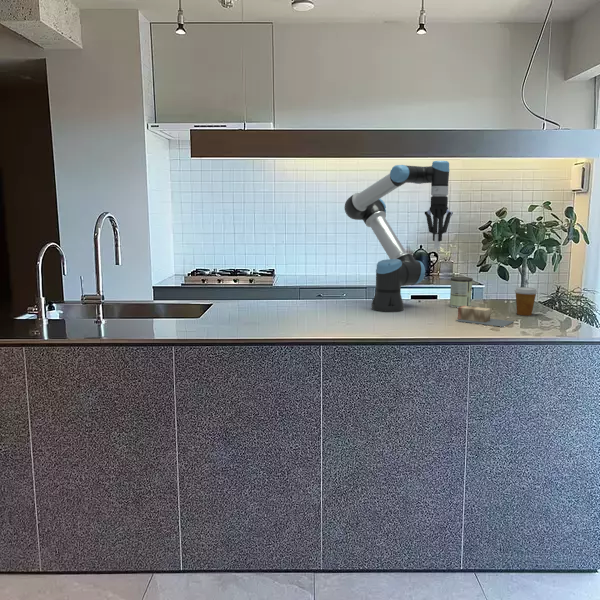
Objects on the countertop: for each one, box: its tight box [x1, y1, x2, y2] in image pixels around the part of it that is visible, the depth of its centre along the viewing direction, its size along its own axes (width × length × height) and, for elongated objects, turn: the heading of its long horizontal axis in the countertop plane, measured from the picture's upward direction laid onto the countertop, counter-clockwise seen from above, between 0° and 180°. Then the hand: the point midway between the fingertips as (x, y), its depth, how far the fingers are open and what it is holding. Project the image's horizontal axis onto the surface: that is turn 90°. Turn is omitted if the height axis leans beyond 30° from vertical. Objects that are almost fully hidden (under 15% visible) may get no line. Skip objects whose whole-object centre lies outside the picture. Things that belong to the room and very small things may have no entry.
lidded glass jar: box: [449, 276, 473, 309], centre depth 275 cm, size 10×10×14 cm
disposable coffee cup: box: [514, 286, 538, 317], centre depth 255 cm, size 10×10×12 cm
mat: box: [455, 318, 515, 328], centre depth 238 cm, size 20×14×1 cm
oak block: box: [457, 305, 492, 322], centre depth 241 cm, size 5×6×12 cm
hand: (436, 248), depth 257 cm, fingers closed
